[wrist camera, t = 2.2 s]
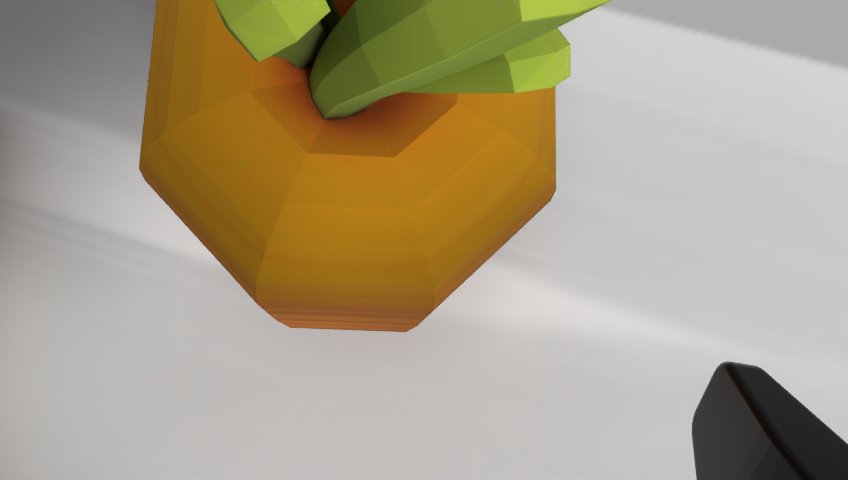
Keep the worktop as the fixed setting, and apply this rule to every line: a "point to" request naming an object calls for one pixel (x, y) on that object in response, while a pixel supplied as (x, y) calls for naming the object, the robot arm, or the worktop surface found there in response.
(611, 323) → the worktop surface
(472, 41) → the carrot
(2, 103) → the worktop surface
